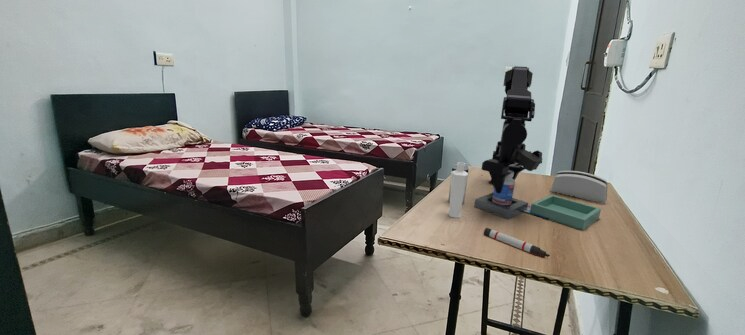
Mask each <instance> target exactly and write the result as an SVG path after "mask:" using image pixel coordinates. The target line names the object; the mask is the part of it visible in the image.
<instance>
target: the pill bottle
mask: <svg viewBox="0 0 745 335" xmlns="http://www.w3.org/2000/svg"><path fill="white" fill-rule="evenodd" d="M508 172H509V173H511V174H509V175H508V176H506V177H505V181H504V184H503V187H502V190H501V193H500V194H499V193H497V192H496V190H495V187H493V192H492V193H493V198H492V201H493V202H494V203H497V204H500V205H510V204H511V202H512V198H513V196H514V190H515V184H516V179H515V180H514V179H513V178H512V177H513V176H514V172H513V171H511V170H508Z"/></svg>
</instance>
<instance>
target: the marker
mask: <svg viewBox="0 0 745 335" xmlns="http://www.w3.org/2000/svg"><path fill="white" fill-rule="evenodd" d="M483 236H487V237H489V238H491V239H493V240H496V241H498V242H502V243H504V244H506V245H508V246H512V247H514V248H517V249H519V250H521V251H523V252H527V253H529V254H532V255H534V256H536V255H537V256H540V257H543V258H545V257H547V258H549V257H550V256H551V255H550V254H549V253H547V252H546V251H545V250H543V249H541V248H540V247H538V246H536V245H533V244H531V243H529V242H526V241H524V240H520V239H519V238H516V237H513V236H510V235H508V234H506V233H503V232H499V231H497V230H495V229H491V228H489V227H486V228H484V231H483Z"/></svg>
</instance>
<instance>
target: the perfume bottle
mask: <svg viewBox="0 0 745 335" xmlns="http://www.w3.org/2000/svg"><path fill="white" fill-rule="evenodd" d="M456 163H457V170H455V171H452V170H451V171H450V173H451V174H450V182H451V188H450V187H449V191H450V201H449V209H448V212H447V215H448V216H449V217H450V218H457V219H458V218H459V219H460V218H461V217H462V207H463V204H464V203H463V198H464V193H465V194H466V192H465V188H466V189H467V185H466V183H468V178H469V172H468V173H467V172H466V171H464V166H465V164H466V163H465V162H460V161H459V162H456Z"/></svg>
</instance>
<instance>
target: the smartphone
mask: <svg viewBox="0 0 745 335" xmlns="http://www.w3.org/2000/svg"><path fill="white" fill-rule="evenodd" d="M503 206H506V205H503ZM506 207H507V206H506ZM530 209H531V205H530V204H528V208H527V210H526V211H524V212H523V213H522V214H527V215H530V216H532V217H537V218H539V219H541V220H545V221H550V220H549V219H548V218H545V217H542V216H539V215H536V214H533V213H530Z"/></svg>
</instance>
